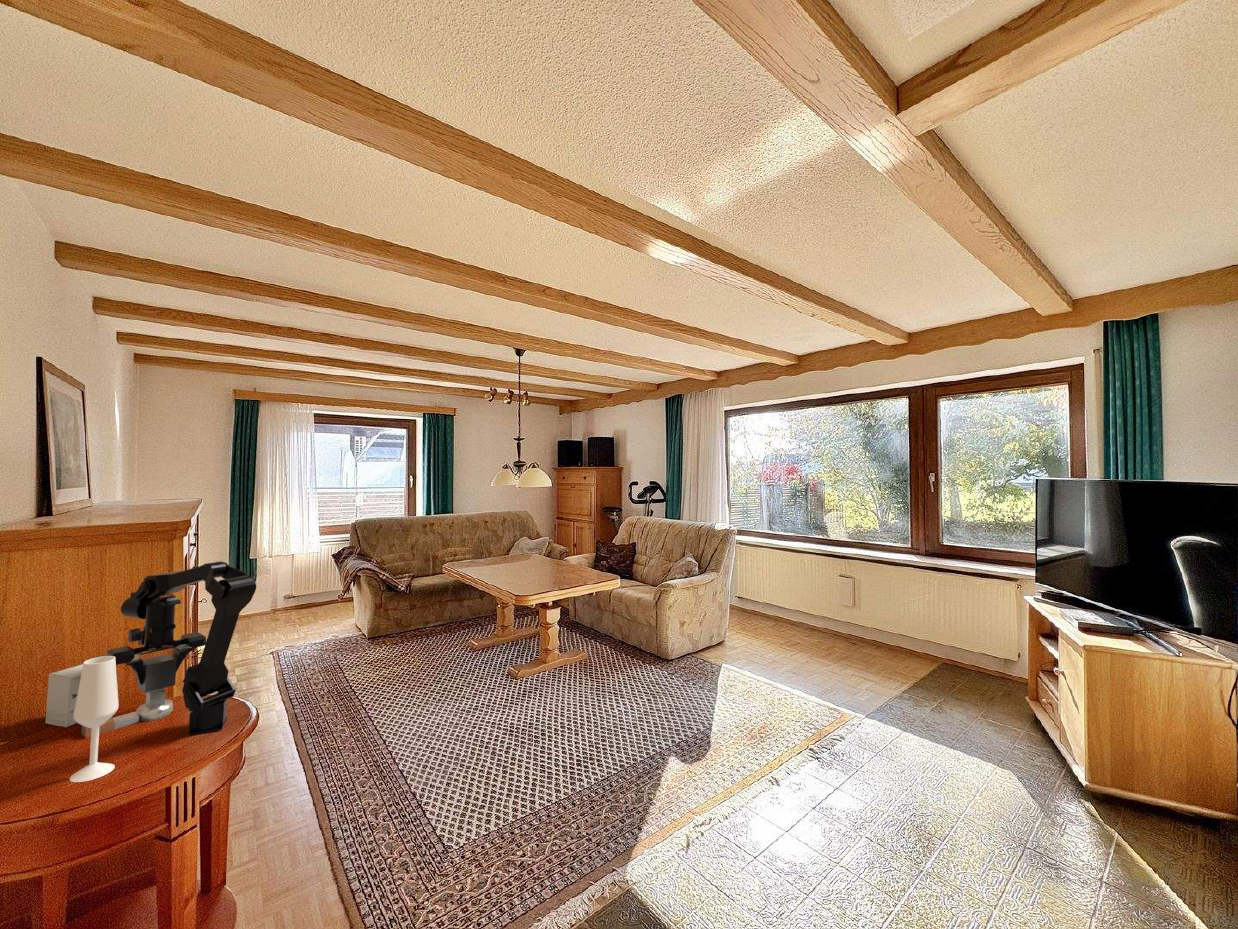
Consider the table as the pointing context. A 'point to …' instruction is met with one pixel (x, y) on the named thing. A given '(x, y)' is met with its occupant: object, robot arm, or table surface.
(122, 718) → the ratchet
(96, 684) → the champagne flute
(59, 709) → the supplement box
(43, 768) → the table surface
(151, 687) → the dark grey box
